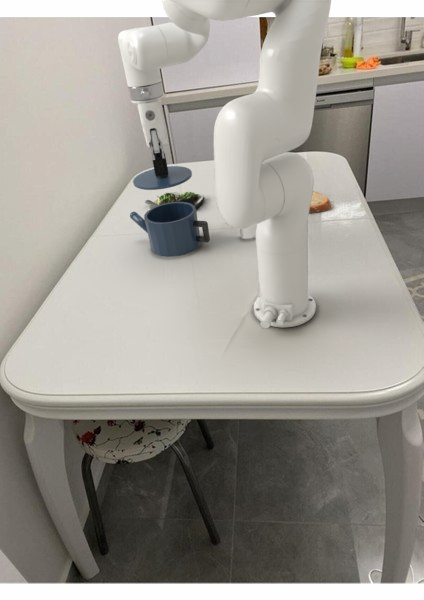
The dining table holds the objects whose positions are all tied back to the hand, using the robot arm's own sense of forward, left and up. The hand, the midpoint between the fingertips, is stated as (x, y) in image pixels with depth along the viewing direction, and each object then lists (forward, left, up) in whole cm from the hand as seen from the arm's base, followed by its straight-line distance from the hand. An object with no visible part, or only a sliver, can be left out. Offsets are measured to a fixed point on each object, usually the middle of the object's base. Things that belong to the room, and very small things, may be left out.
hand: (161, 172), depth 108 cm
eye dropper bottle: (+8, -19, -21) cm, 29 cm away
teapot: (0, 0, -21) cm, 21 cm away
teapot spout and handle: (0, +1, -19) cm, 19 cm away
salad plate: (+25, +12, -21) cm, 35 cm away
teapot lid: (0, 0, -2) cm, 2 cm away
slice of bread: (+32, -26, -21) cm, 46 cm away
